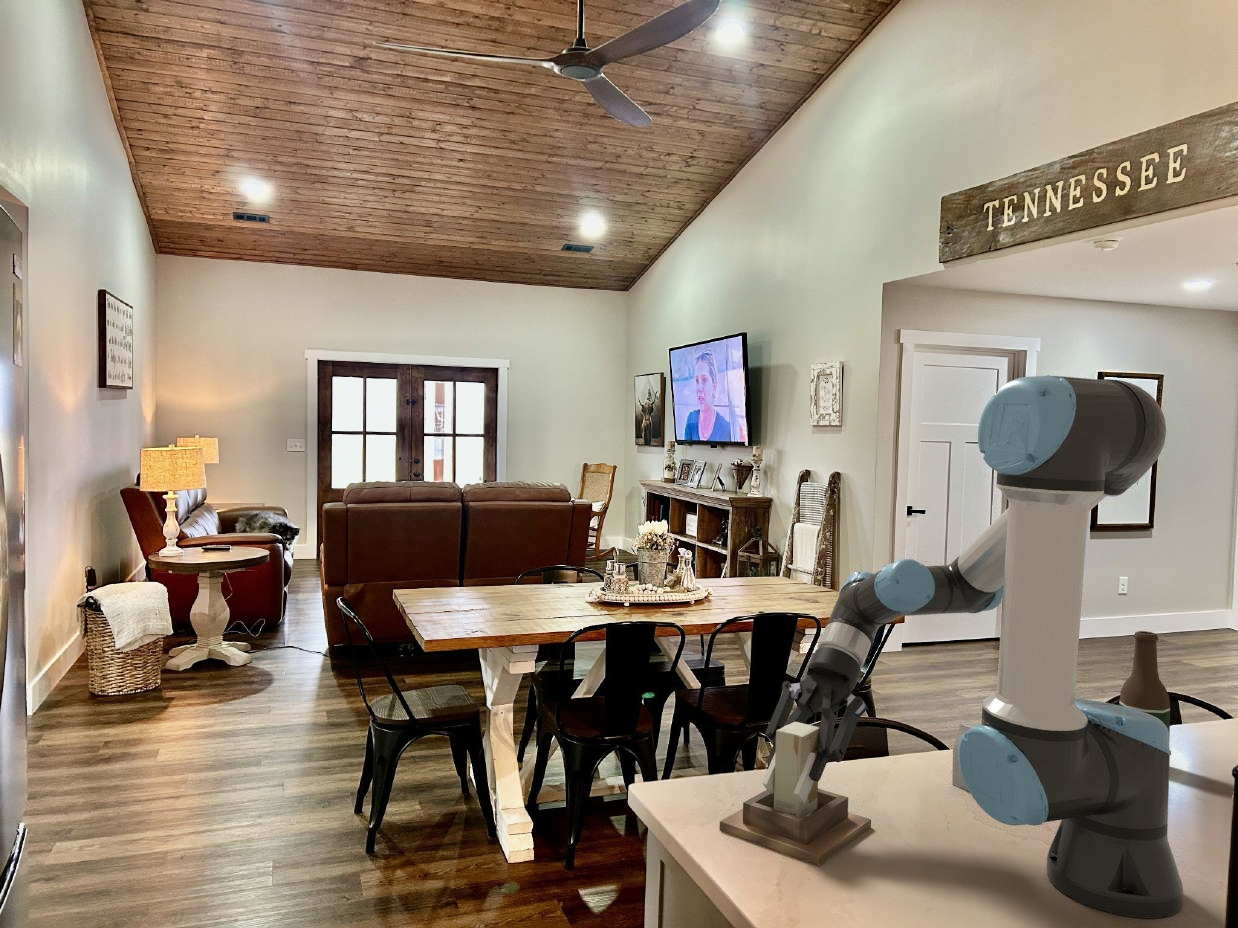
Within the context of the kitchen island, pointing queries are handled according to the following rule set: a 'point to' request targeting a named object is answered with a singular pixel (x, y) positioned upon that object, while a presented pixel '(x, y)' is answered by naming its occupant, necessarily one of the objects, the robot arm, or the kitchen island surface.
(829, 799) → the walnut box stand
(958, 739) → the grey rectangular block
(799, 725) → the skincare box
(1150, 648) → the beer bottle
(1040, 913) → the kitchen island surface
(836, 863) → the kitchen island surface
